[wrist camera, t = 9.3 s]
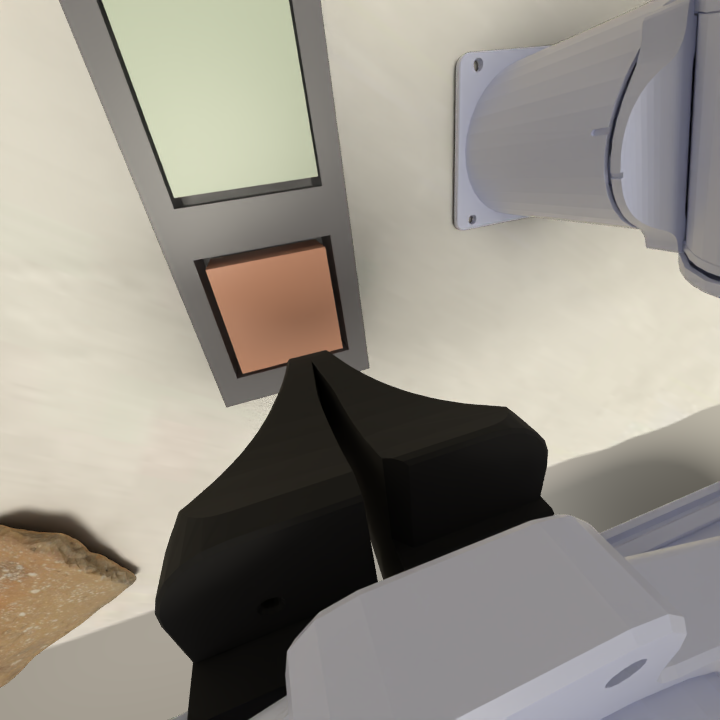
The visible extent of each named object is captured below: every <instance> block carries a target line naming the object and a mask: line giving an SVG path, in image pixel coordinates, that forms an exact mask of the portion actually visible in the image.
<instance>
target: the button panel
mask: <svg viewBox="0 0 720 720" xmlns="http://www.w3.org/2000/svg"><path fill="white" fill-rule="evenodd" d="M59 2H60V4H61V6H62V9H63V11H64V14H65V16H66V19H67V21H68V23H69V26H70V28H71V31H72V33H73V36H74V38H75V40H76V43H77V45H78V48H79V50H80V53H81V55H82V57H83V60H84V62H85V65H86V67H87V70H88V72H89V74H90V77H91V79H92V82H93V84H94V87H95V89H96V91H97V94H98V96H99V99H100V101H101V104H102V106H103V108H104V111H105V113H106V116H107V118H108V121H109V123H110V125H111V128H112V130H113V133H114V135H115V138H116V140H117V142H118V145H119V147H120V150H121V152H122V155H123V157H124V159H125V162H126V164H127V167H128V169H129V172H130V174H131V176H132V179H133V181H134V184H135V186H136V189H137V191H138V193H139V196H140V198H141V201H142V203H143V206H144V208H145V211H146V213H147V215H148V218H149V220H150V223H151V225H152V228H153V230H154V232H155V235H156V237H157V240H158V242H159V245H160V247H161V249H162V252H163V254H164V257H165V259H166V262H167V264H168V266H169V269H170V271H171V274H172V276H173V279H174V281H175V283H176V286H177V288H178V291H179V293H180V296H181V298H182V300H183V303H184V305H185V308H186V310H187V313H188V315H189V317H190V320H191V322H192V325H193V327H194V330H195V332H196V334H197V337H198V339H199V342H200V344H201V347H202V349H203V351H204V354H205V356H206V359H207V361H208V364H209V366H210V368H211V371H212V373H213V376H214V378H215V381H216V383H217V385H218V388H219V390H220V393H221V395H222V398H223V400H224V402H225V405H226V407H230V406H233V405H237V404H241V403H244V402H248V401H252V400H255V399H259V398H263V397H266V396H270V395H274V394H277V393H279V391H280V388H281V385H282V382H283V379H284V376H285V372H286V366H287V363H283V364H279V365H275V366H271V367H267V368H264V369H260V370H256V371H252V372H248V373H244V374H243V373H242V371H241V368H240V365H239V362H238V359H237V357H236V354H235V351H234V348H233V345H232V343H231V340H230V337H229V334H228V332H227V329H226V326H225V323H224V320H223V318H222V315H221V312H220V309H219V306H218V304H217V301H216V298H215V295H214V292H213V290H212V287H211V284H210V281H209V279H208V276H207V273H206V268H207V266H208V263H209V261H210V259H212V258H217V257H223V256H228V255H233V254H239V253H244V252H249V251H255V250H260V249H265V248H271V247H276V246H281V245H287V244H292V243H297V242H303V241H308V240H313V239H316V240H317V241H318V242H319V243H321V244H322V245H323V246H325V249H326V254H327V260H328V266H329V272H330V277H331V283H332V289H333V295H334V300H335V306H336V312H337V318H338V323H339V329H340V335H341V341H342V346H343V348H341V349H337V350H333V351H330V353H332V354H333V355H335V356H336V357H337V358H339V359H340V360H342V361H343V362H345V363H346V364H348V365H350V366H351V367H353V368H355V369H356V370H358V371H361V370H365V369H368V368H369V361H368V354H367V346H366V339H365V331H364V324H363V316H362V309H361V301H360V294H359V286H358V279H357V271H356V264H355V256H354V249H353V241H352V234H351V226H350V218H349V211H348V203H347V196H346V188H345V181H344V173H343V166H342V158H341V151H340V143H339V136H338V128H337V121H336V113H335V106H334V98H333V91H332V83H331V76H330V68H329V61H328V53H327V46H326V38H325V31H324V23H323V16H322V8H321V1H320V0H289V5H290V11H291V17H292V23H293V29H294V35H295V41H296V47H297V53H298V59H299V65H300V71H301V76H302V82H303V88H304V94H305V100H306V106H307V112H308V118H309V124H310V130H311V136H312V142H313V148H314V154H315V160H316V166H317V172H318V176H317V177H311V178H304V179H297V180H291V181H284V182H277V183H271V184H264V185H257V186H251V187H244V188H237V189H231V190H224V191H217V192H211V193H204V194H197V195H191V196H184V197H177V198H174V196H173V193H172V191H171V188H170V185H169V183H168V180H167V177H166V174H165V172H164V169H163V166H162V163H161V161H160V158H159V155H158V152H157V150H156V147H155V144H154V142H153V139H152V136H151V133H150V131H149V128H148V125H147V122H146V120H145V117H144V114H143V111H142V109H141V106H140V103H139V101H138V98H137V95H136V92H135V90H134V87H133V84H132V81H131V79H130V76H129V73H128V71H127V68H126V65H125V62H124V60H123V57H122V54H121V51H120V49H119V46H118V43H117V40H116V38H115V35H114V32H113V30H112V27H111V24H110V21H109V19H108V16H107V13H106V10H105V8H104V5H103V2H102V0H59Z"/></svg>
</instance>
